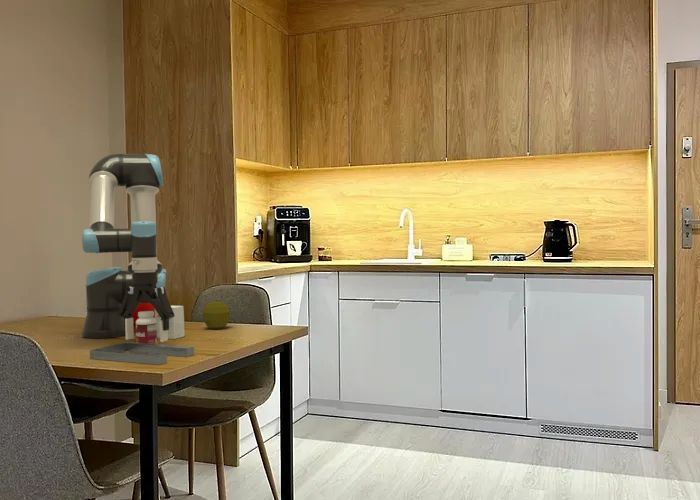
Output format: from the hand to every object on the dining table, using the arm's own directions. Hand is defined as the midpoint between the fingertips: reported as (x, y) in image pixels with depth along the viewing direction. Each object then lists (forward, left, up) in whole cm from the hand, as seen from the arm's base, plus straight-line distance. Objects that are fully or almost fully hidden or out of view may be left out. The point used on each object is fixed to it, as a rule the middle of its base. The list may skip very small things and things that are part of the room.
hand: (146, 340), depth 212 cm
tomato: (-40, +41, -2) cm, 58 cm away
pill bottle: (0, 0, -2) cm, 2 cm away
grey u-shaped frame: (+10, -13, -2) cm, 16 cm away
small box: (-6, +18, -3) cm, 19 cm away
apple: (-3, +40, -3) cm, 40 cm away
